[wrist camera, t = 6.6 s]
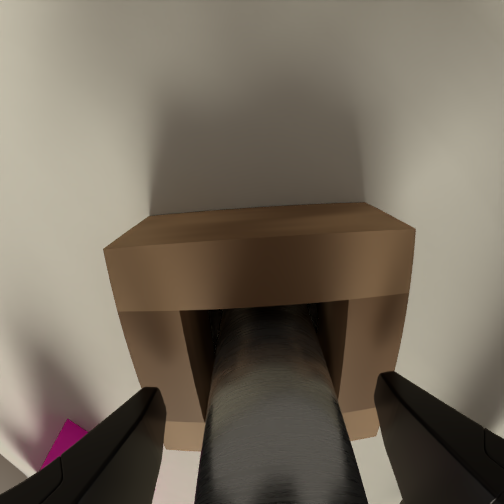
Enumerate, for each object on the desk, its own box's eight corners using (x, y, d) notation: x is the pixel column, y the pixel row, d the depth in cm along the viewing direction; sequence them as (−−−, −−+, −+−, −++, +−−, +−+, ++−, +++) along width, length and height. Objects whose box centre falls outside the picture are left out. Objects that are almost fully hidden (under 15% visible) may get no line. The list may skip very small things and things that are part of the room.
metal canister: (304, 267, 12) (407, 531, 2) (303, 337, 13) (359, 574, 3) (219, 272, 12) (161, 552, 2) (227, 342, 13) (205, 585, 3)
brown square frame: (365, 202, 11) (415, 228, 7) (352, 374, 14) (376, 436, 10) (149, 216, 11) (103, 248, 7) (182, 384, 14) (166, 449, 10)
